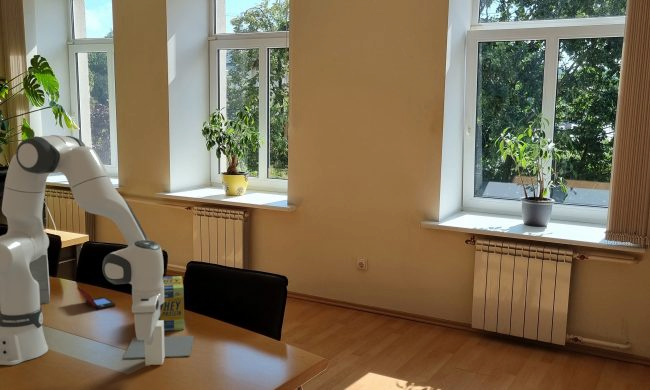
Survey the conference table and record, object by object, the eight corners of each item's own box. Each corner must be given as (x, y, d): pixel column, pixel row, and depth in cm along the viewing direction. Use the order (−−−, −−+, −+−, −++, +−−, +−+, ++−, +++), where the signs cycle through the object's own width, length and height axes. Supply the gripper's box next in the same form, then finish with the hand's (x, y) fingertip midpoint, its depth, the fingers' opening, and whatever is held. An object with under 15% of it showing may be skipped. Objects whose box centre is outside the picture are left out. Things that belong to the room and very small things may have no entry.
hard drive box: (29, 294, 245) (26, 246, 242) (49, 291, 248) (47, 245, 245) (28, 305, 231) (25, 255, 228) (50, 303, 234) (47, 253, 231)
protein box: (153, 332, 206) (152, 289, 204) (154, 317, 220) (152, 276, 218) (184, 330, 209) (183, 287, 206) (183, 315, 223) (182, 275, 221)
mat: (123, 359, 184) (123, 357, 184) (133, 339, 200) (133, 337, 199) (189, 356, 186) (189, 355, 186) (193, 337, 202) (193, 335, 202)
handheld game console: (116, 307, 232) (115, 288, 231) (88, 313, 225) (87, 294, 224) (104, 299, 241) (103, 281, 240) (77, 304, 234) (76, 286, 233)
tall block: (145, 366, 179) (144, 326, 178) (148, 359, 184) (147, 320, 182) (162, 365, 180) (161, 326, 178) (164, 358, 185) (163, 320, 183)
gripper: (143, 286, 181) (144, 329, 183) (130, 309, 160) (131, 357, 163) (164, 286, 181) (165, 329, 183) (154, 308, 161) (155, 356, 163)
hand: (149, 342), depth 173 cm, fingers closed
